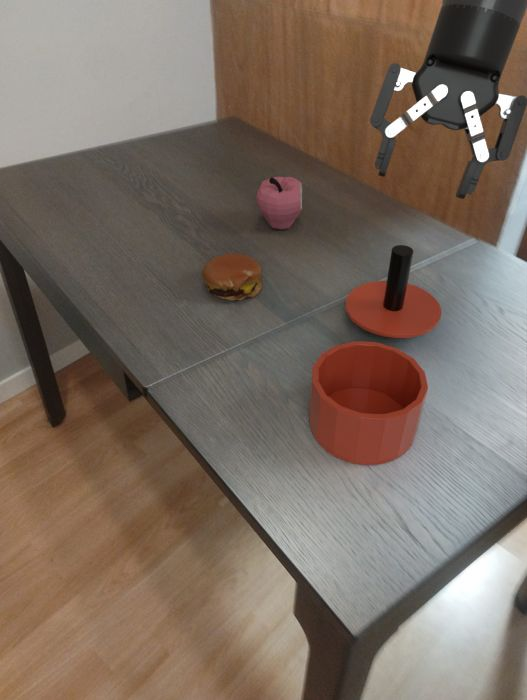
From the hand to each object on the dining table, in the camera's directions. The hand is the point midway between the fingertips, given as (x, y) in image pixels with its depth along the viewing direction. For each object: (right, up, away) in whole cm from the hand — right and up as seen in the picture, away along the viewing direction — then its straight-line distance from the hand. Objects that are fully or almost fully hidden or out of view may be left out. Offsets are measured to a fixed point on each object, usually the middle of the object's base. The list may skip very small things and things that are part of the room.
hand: (420, 186), depth 57 cm
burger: (-21, -7, +30) cm, 37 cm away
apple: (-14, +6, +46) cm, 48 cm away
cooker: (-5, -26, +7) cm, 27 cm away
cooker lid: (+2, -12, +20) cm, 23 cm away
